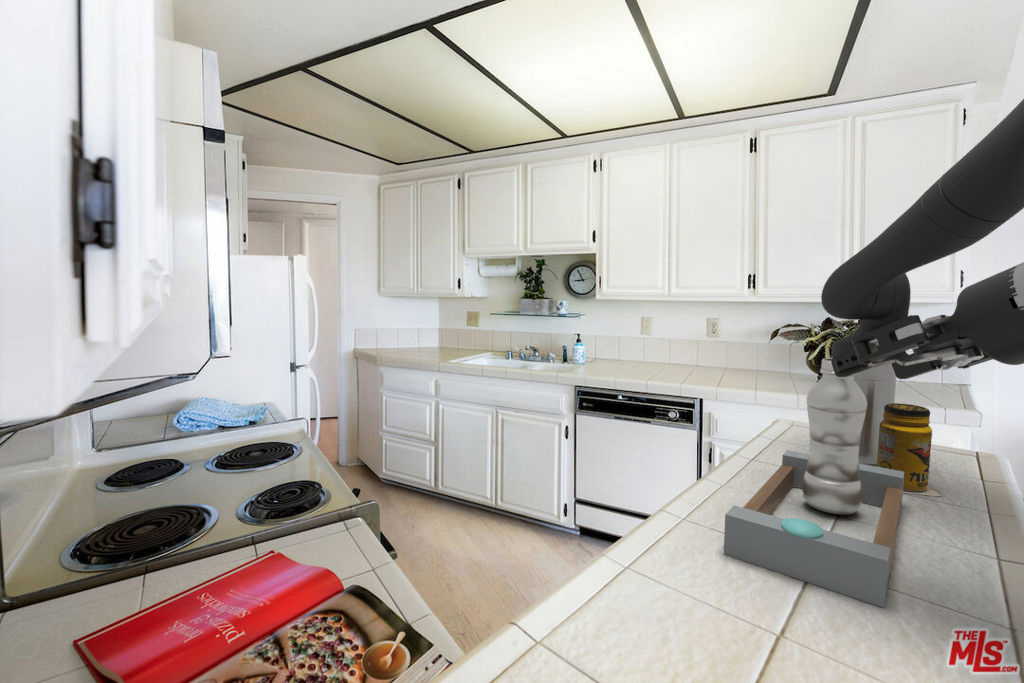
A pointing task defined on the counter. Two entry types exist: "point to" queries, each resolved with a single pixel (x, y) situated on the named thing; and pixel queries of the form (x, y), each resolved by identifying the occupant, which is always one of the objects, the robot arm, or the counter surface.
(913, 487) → the condiment
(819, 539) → the grey end board
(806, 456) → the grey beam
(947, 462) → the counter surface
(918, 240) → the robot arm
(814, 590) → the counter surface
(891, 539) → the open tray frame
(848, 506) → the plastic bottle
